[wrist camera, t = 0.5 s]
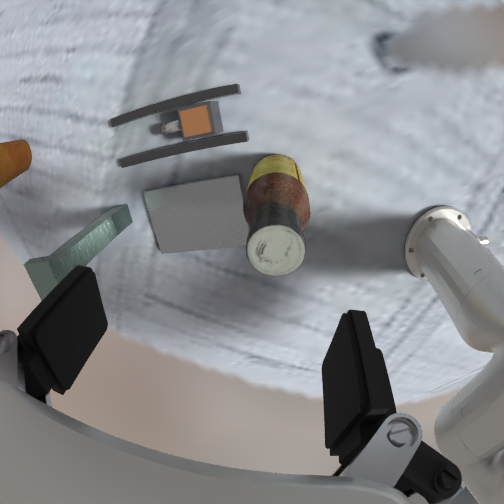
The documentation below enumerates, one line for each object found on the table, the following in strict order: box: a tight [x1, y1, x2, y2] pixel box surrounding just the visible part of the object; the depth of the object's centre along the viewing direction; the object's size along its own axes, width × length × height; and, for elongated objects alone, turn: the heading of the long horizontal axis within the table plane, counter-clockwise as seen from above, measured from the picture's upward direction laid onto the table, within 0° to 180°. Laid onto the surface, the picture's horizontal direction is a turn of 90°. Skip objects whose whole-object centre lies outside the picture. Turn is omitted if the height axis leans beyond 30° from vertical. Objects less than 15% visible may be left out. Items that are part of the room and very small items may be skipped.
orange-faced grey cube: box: [161, 101, 223, 141], centre depth 32 cm, size 7×4×4 cm, turn 99°
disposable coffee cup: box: [0, 140, 32, 188], centre depth 33 cm, size 10×10×12 cm
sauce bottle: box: [243, 154, 310, 276], centre depth 28 cm, size 6×6×20 cm
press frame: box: [24, 84, 250, 300], centre depth 30 cm, size 24×22×19 cm
